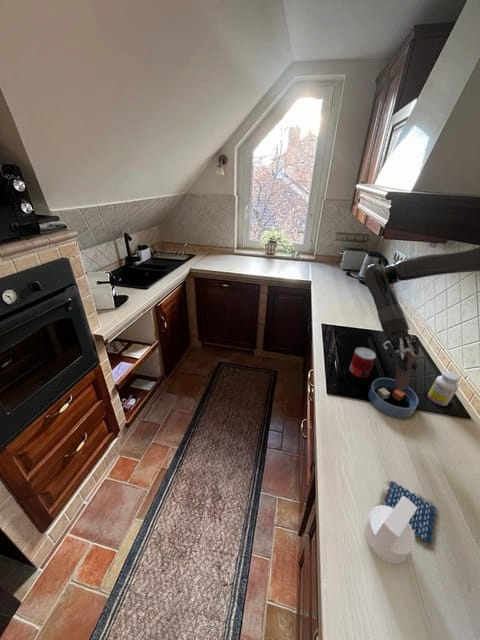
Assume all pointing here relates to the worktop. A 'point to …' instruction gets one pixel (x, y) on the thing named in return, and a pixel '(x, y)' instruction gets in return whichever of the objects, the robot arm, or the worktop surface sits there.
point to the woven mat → (424, 512)
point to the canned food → (362, 362)
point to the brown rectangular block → (404, 377)
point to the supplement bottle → (444, 388)
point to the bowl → (389, 408)
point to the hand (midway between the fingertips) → (410, 370)
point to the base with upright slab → (391, 531)
